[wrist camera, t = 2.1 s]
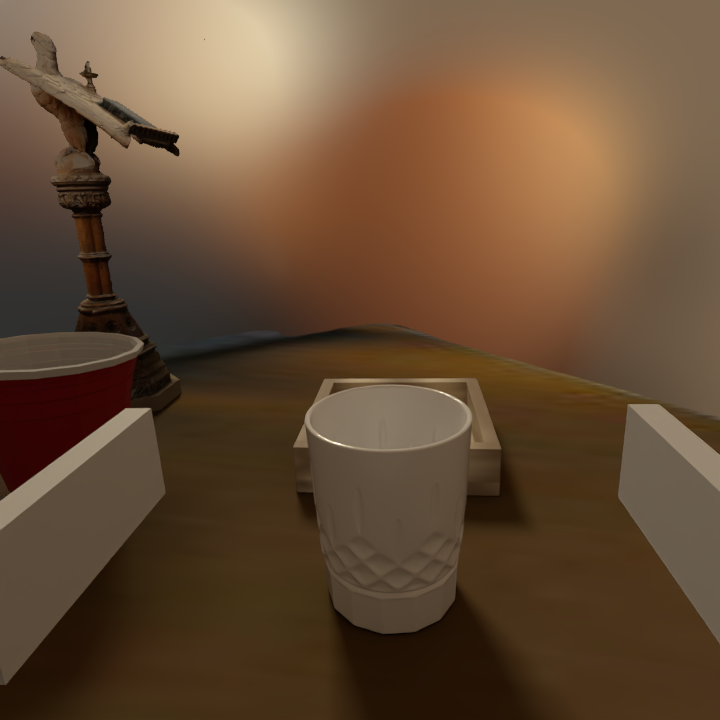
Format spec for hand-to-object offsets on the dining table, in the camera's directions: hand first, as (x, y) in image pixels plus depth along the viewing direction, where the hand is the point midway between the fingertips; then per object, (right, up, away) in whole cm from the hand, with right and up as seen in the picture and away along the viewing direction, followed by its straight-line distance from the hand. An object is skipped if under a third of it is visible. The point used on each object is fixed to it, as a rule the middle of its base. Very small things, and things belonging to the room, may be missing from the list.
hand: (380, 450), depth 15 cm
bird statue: (-23, -2, +42) cm, 48 cm away
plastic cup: (-19, -8, +21) cm, 30 cm away
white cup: (+1, -10, +13) cm, 17 cm away
